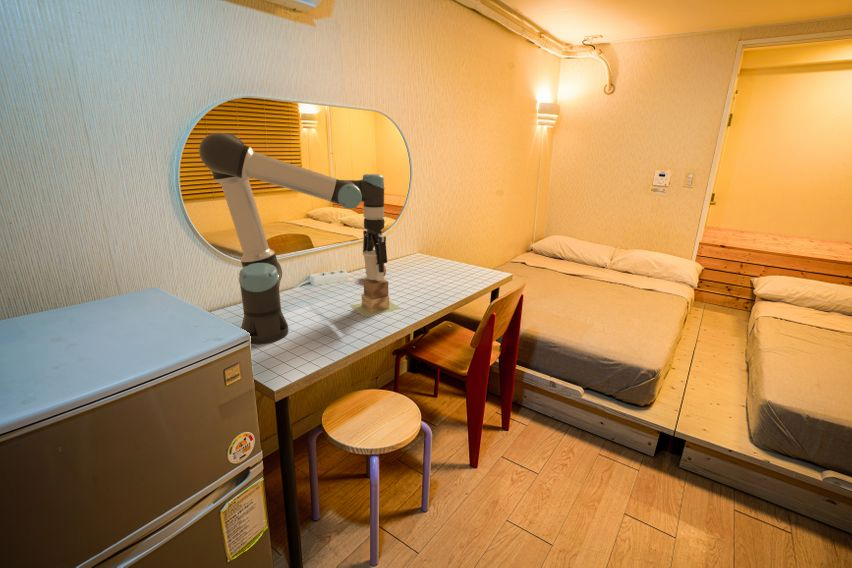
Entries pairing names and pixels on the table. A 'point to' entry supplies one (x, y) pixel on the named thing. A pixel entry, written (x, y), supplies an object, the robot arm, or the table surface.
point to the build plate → (365, 312)
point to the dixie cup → (370, 264)
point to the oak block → (375, 303)
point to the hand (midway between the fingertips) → (374, 276)
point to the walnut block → (375, 288)
